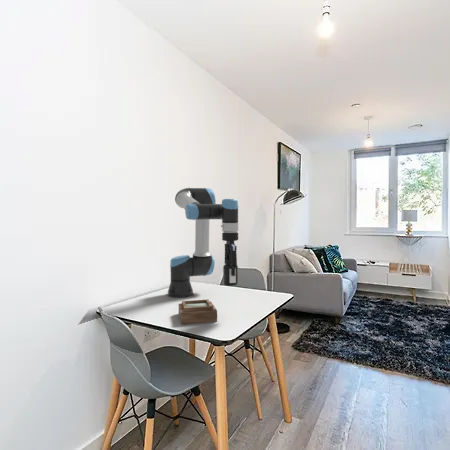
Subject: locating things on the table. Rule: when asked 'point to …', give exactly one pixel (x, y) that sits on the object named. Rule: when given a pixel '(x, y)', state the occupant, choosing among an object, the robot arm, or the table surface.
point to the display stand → (197, 312)
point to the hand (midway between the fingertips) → (230, 281)
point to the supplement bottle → (228, 274)
